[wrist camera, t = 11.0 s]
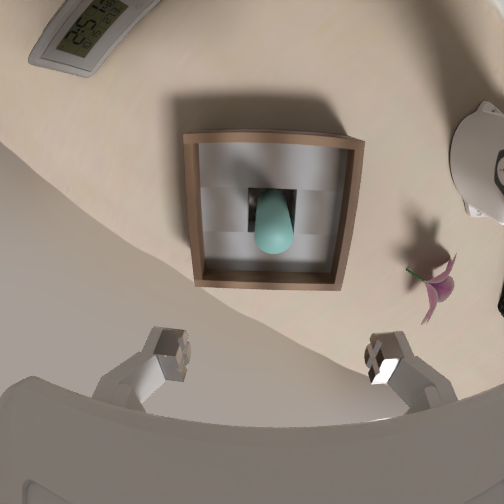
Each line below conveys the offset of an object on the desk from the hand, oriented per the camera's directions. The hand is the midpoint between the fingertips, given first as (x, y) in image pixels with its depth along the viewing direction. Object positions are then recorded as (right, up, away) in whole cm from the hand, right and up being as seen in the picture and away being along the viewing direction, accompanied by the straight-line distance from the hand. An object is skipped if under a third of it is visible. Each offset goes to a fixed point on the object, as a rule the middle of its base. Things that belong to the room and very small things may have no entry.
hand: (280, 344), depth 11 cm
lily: (+27, +1, +27) cm, 38 cm away
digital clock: (-18, +33, +11) cm, 40 cm away
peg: (+1, +10, +23) cm, 25 cm away
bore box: (+1, +10, +23) cm, 25 cm away
